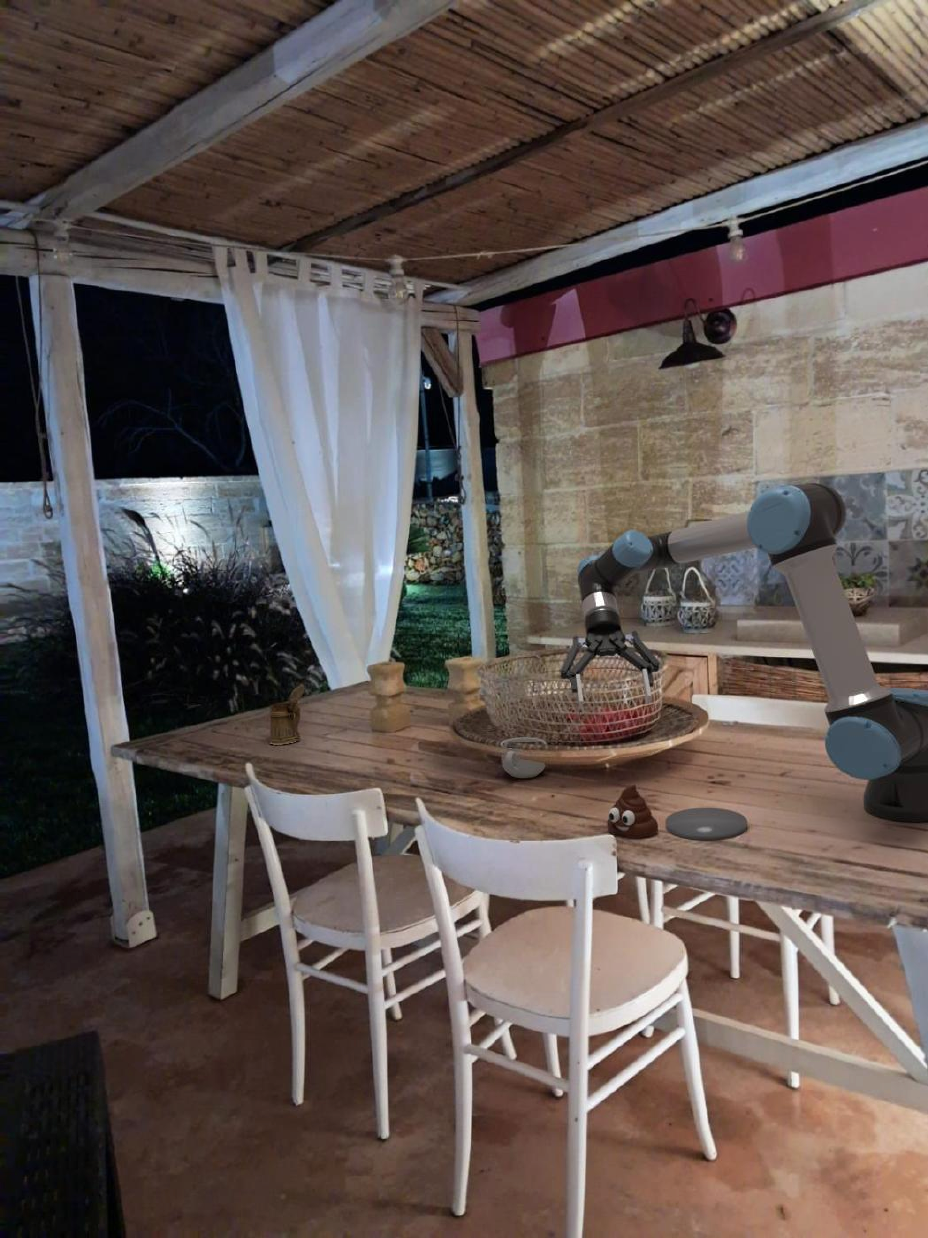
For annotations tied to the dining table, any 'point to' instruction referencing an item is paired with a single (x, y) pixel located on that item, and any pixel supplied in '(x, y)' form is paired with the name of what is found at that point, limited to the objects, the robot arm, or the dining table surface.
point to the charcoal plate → (706, 823)
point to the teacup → (521, 760)
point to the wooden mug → (286, 718)
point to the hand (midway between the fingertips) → (615, 702)
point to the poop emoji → (631, 816)
